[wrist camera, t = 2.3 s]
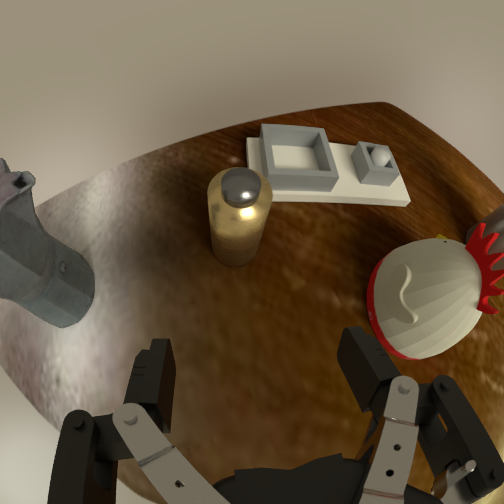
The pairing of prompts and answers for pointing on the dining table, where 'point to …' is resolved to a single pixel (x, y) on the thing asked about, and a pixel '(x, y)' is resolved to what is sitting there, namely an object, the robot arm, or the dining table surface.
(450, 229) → the dining table surface
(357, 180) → the white tray
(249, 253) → the gold bottle
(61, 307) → the moka pot
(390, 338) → the kitchen timer
